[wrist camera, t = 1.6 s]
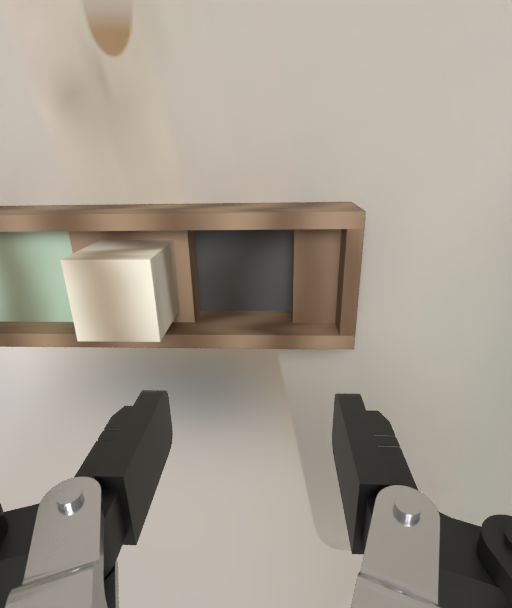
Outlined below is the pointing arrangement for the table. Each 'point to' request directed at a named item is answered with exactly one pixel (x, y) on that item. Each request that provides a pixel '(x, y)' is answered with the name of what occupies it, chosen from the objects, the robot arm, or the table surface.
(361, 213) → the tray
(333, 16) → the table surface
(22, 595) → the robot arm
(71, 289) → the cream cube
